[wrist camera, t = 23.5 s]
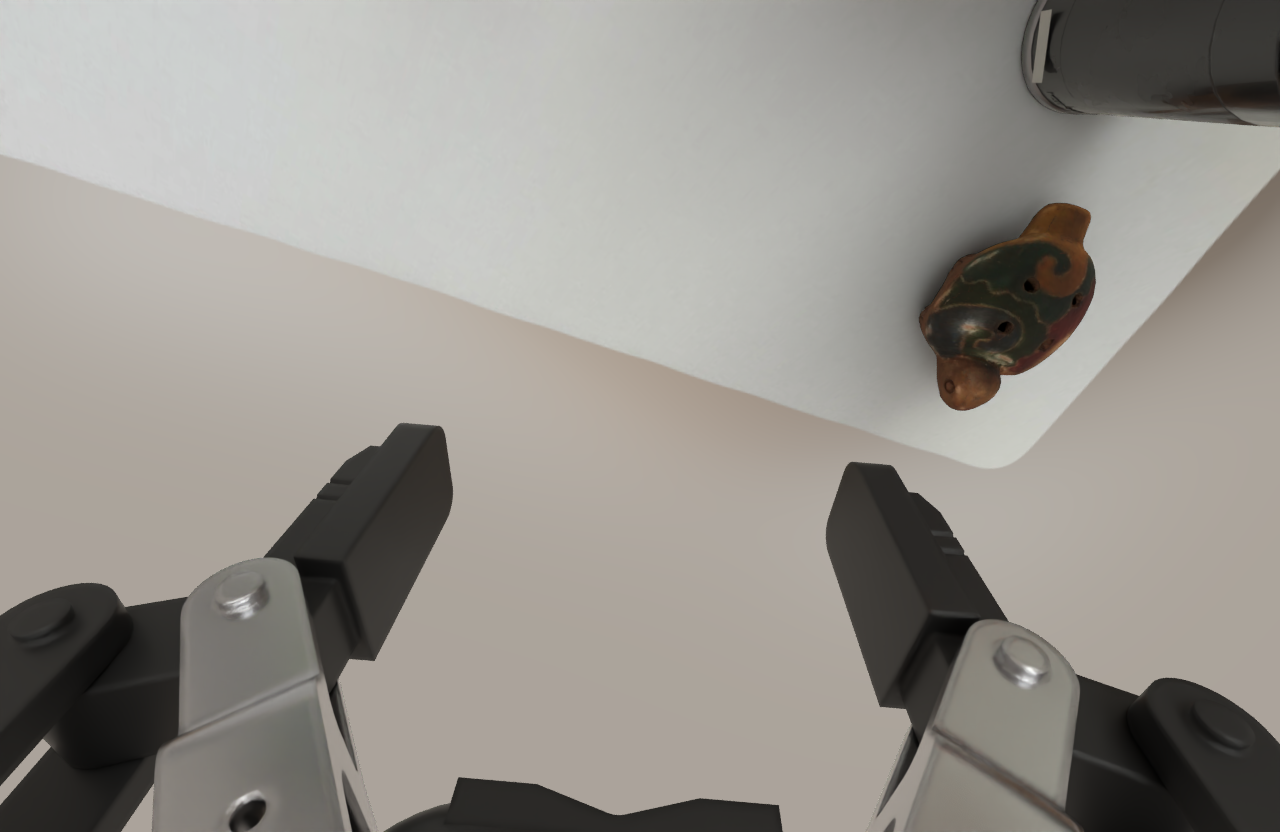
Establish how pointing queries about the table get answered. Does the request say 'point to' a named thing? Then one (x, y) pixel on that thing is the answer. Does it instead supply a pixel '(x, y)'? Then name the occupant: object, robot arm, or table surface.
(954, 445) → the table surface
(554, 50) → the table surface
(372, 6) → the table surface
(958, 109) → the table surface
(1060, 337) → the decorative turtle
